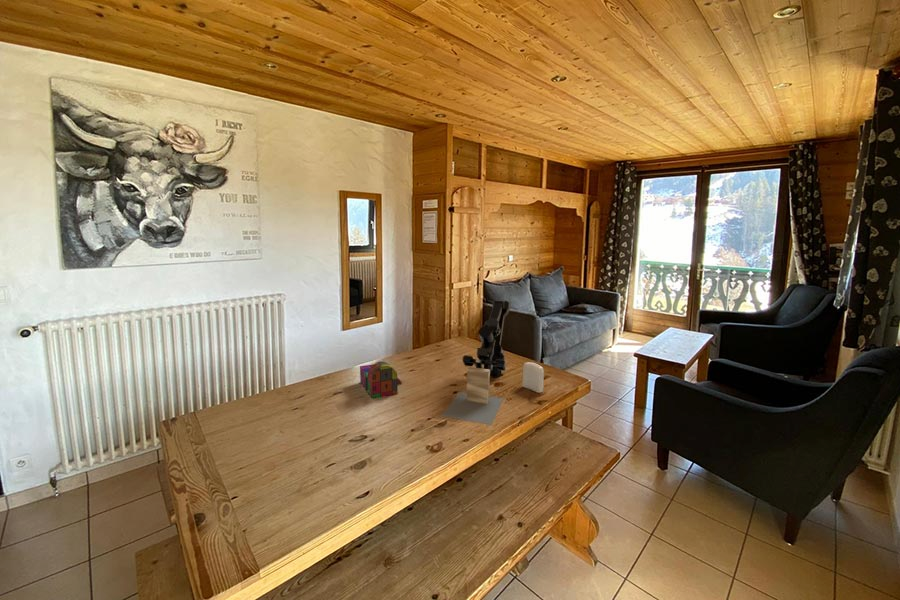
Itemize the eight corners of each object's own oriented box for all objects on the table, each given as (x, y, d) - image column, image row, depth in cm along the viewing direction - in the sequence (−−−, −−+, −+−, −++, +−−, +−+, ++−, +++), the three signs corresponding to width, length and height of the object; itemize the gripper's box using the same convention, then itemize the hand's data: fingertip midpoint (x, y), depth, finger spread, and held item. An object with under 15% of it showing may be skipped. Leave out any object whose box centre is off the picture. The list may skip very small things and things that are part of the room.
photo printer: (520, 386, 189) (522, 361, 187) (526, 384, 192) (528, 359, 189) (538, 394, 181) (539, 367, 179) (544, 391, 184) (546, 365, 182)
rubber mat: (459, 393, 181) (459, 391, 180) (503, 400, 174) (503, 398, 174) (441, 418, 158) (441, 416, 158) (491, 426, 152) (491, 424, 152)
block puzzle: (409, 392, 182) (408, 362, 179) (372, 399, 174) (371, 368, 172) (391, 373, 204) (390, 346, 201) (357, 378, 196) (356, 350, 194)
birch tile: (468, 397, 175) (469, 366, 172) (489, 400, 172) (490, 369, 169) (466, 400, 172) (467, 369, 169) (487, 403, 169) (488, 372, 166)
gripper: (463, 337, 179) (455, 369, 171) (506, 341, 173) (499, 375, 165) (468, 349, 188) (461, 380, 179) (508, 354, 182) (502, 386, 174)
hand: (480, 380), depth 174 cm, fingers closed
